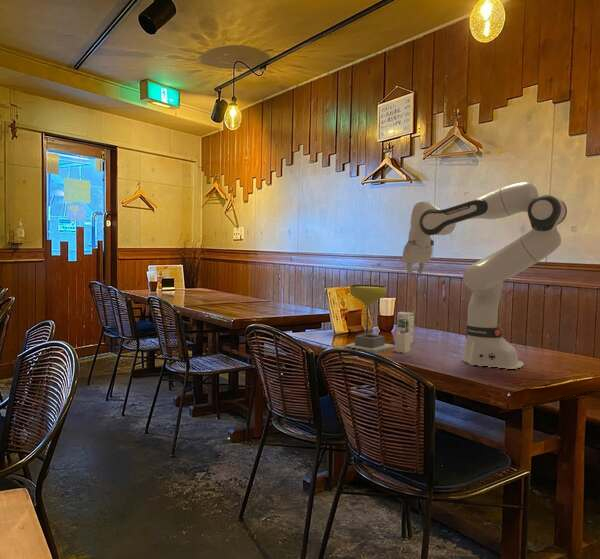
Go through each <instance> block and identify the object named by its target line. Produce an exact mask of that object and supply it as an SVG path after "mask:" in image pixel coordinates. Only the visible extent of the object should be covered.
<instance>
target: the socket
mask: <svg viewBox="0 0 600 559" xmlns="http://www.w3.org/2000/svg"><path fill="white" fill-rule="evenodd" d="M361 334H362V333H361ZM373 334H374V333H370V334H362V335H358V336H356V335H355V336H354V342H352V343H349V344H344V348H345V347H351V348H356V349H355V350H357V349H362V350H361V351H363V350H366V351H365V352H369V353H375V352H377V353H380V352H383V351H382V350H384V351H386V349H387V350H390V349H393V348H395V345H394V344H391V343H385V341H386V340H385V339H386V338H385V335H379V334H375V335H373ZM351 348H350V349H351ZM389 348H390V349H389ZM371 351H373V352H371ZM379 351H380V352H379Z"/></svg>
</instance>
